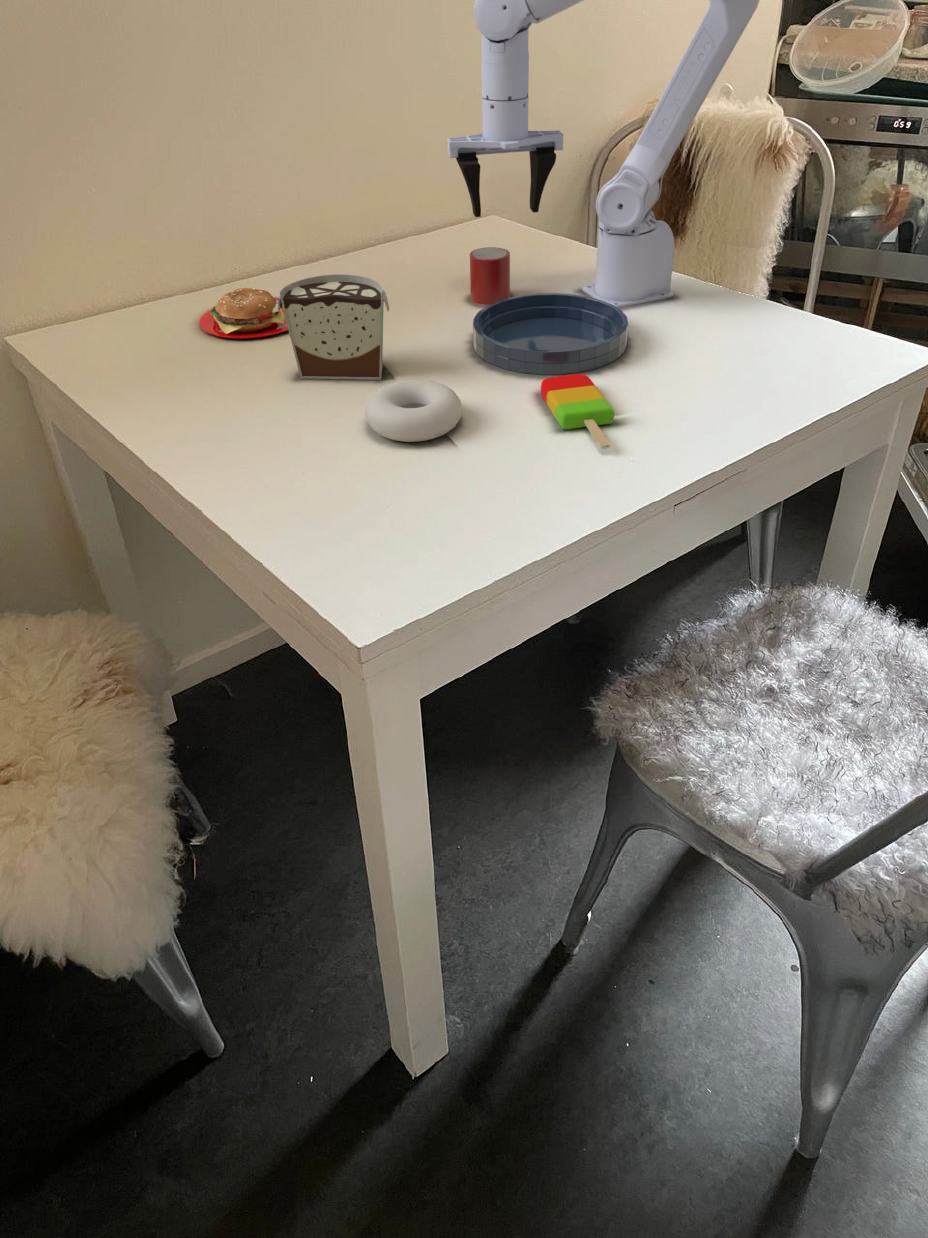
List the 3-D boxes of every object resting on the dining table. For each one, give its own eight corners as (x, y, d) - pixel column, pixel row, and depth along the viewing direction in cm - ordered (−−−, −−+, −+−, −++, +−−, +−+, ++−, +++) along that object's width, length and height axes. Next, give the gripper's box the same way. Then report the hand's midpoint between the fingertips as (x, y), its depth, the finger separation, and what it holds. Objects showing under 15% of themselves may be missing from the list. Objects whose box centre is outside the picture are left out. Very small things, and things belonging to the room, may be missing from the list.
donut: (416, 396, 106) (346, 426, 100) (414, 366, 103) (343, 395, 98) (482, 423, 100) (412, 457, 94) (482, 392, 98) (410, 425, 92)
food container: (402, 357, 114) (396, 272, 107) (394, 379, 109) (387, 292, 103) (300, 356, 115) (288, 272, 108) (287, 378, 110) (274, 291, 104)
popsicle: (586, 387, 106) (586, 370, 105) (632, 451, 94) (633, 433, 93) (537, 393, 105) (537, 376, 104) (578, 459, 93) (579, 441, 92)
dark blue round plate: (579, 306, 124) (580, 283, 123) (655, 358, 111) (658, 333, 109) (450, 332, 119) (449, 308, 117) (514, 389, 106) (514, 363, 104)
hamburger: (323, 326, 122) (317, 279, 118) (215, 349, 117) (205, 300, 113) (289, 292, 132) (282, 248, 128) (188, 312, 127) (178, 266, 123)
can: (499, 290, 130) (499, 244, 126) (516, 302, 126) (516, 255, 123) (464, 296, 129) (463, 250, 125) (480, 309, 125) (479, 262, 121)
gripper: (451, 106, 114) (455, 225, 122) (570, 98, 115) (566, 216, 124) (443, 95, 119) (447, 210, 128) (557, 87, 121) (554, 201, 129)
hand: (505, 212), depth 126 cm, fingers open, 7 cm apart
